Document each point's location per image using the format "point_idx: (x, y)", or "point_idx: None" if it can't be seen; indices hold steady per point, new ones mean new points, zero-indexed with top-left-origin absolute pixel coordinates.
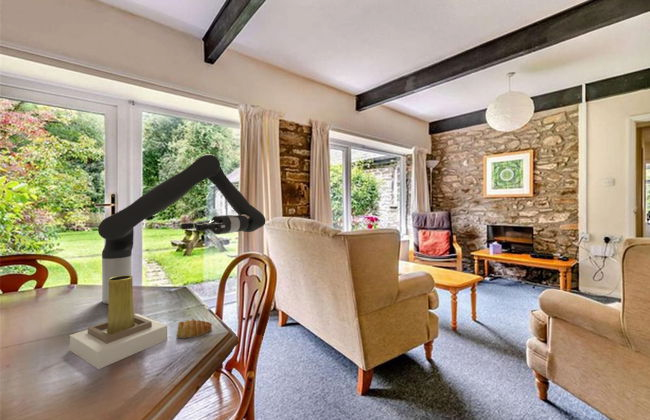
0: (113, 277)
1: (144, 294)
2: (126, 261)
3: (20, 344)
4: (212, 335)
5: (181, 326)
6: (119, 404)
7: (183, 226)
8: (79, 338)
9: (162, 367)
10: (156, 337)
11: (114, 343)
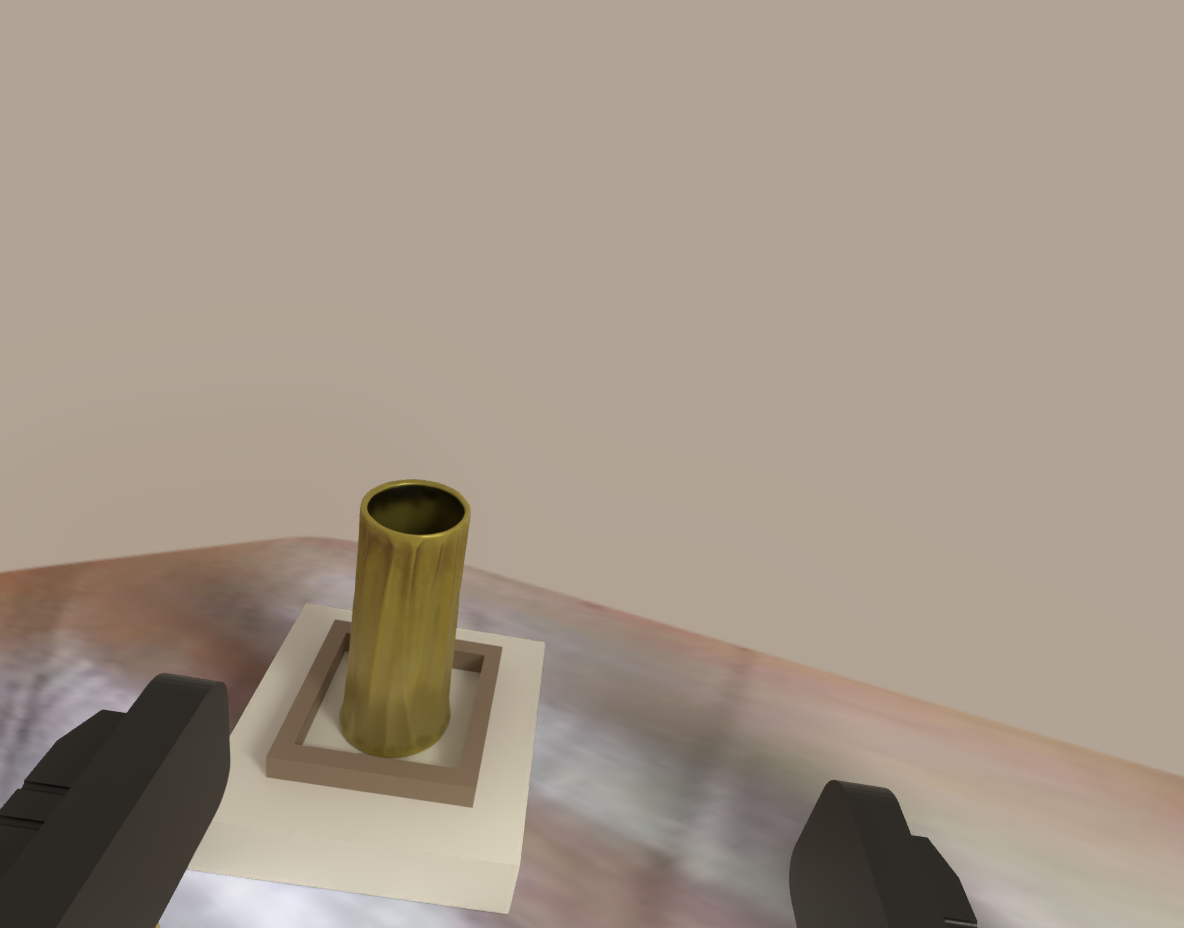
0: (465, 507)
1: None
2: None
3: (735, 666)
4: None
5: None
6: (83, 582)
7: (819, 850)
8: (481, 637)
9: (50, 708)
10: None
11: (306, 645)
